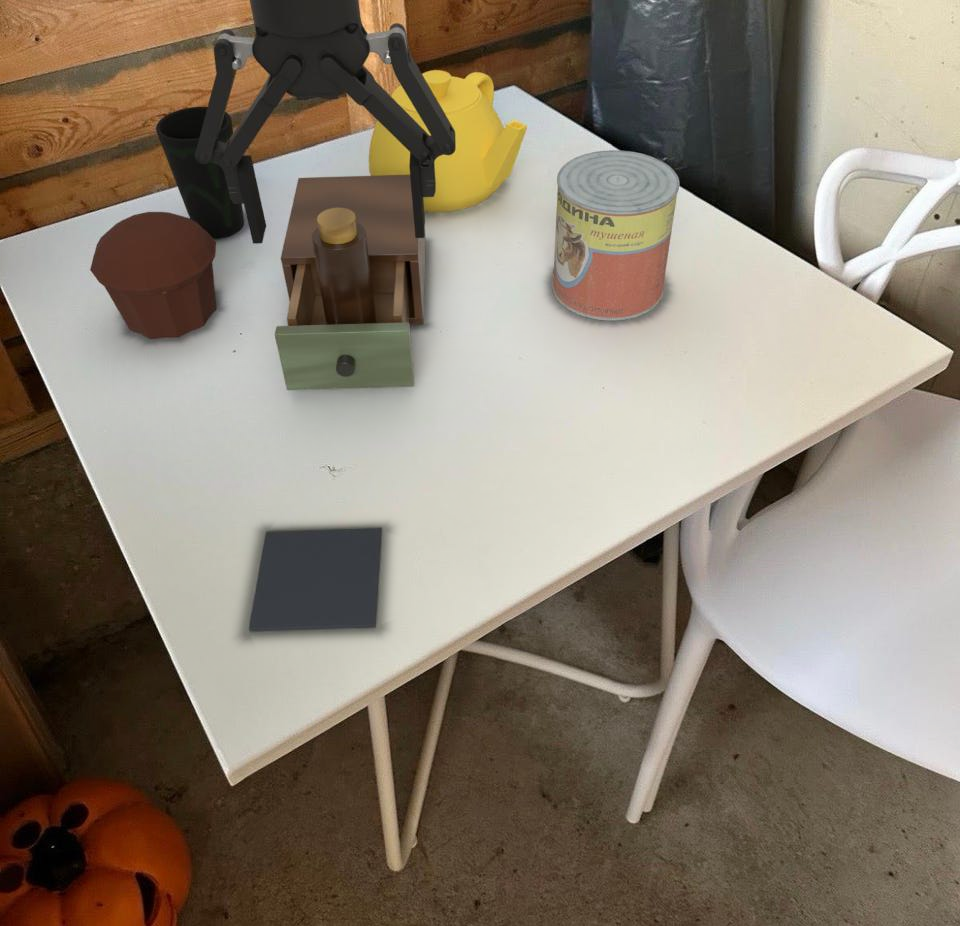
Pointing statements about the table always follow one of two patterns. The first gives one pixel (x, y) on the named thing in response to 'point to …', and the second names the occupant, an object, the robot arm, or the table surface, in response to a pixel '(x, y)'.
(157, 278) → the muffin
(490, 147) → the teapot
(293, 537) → the mat
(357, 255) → the bottle
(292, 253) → the cabinet
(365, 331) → the drawer
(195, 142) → the cup
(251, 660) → the table surface
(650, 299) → the canned food
